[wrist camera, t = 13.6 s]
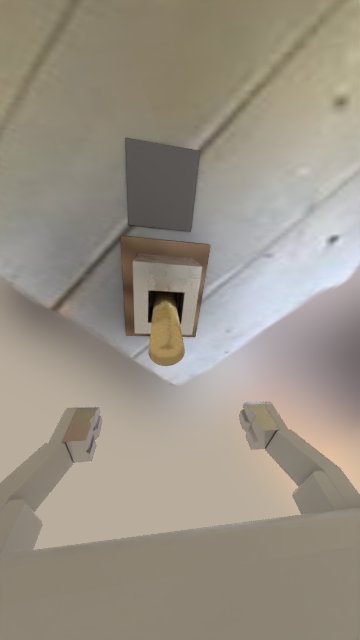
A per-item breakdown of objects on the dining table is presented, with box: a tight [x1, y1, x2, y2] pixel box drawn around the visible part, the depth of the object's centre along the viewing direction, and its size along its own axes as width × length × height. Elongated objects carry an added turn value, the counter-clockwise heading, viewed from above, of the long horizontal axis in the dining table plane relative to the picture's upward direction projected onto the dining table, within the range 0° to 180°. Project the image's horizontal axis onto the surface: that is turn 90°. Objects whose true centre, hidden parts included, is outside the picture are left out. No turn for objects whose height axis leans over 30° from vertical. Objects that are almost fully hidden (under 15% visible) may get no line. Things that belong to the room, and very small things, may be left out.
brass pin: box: [149, 291, 185, 366], centre depth 22 cm, size 3×3×16 cm
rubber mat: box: [126, 138, 200, 232], centre depth 23 cm, size 9×9×1 cm
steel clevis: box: [133, 253, 202, 335], centre depth 26 cm, size 14×8×7 cm, turn 175°
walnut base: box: [121, 236, 210, 337], centre depth 30 cm, size 16×13×2 cm
